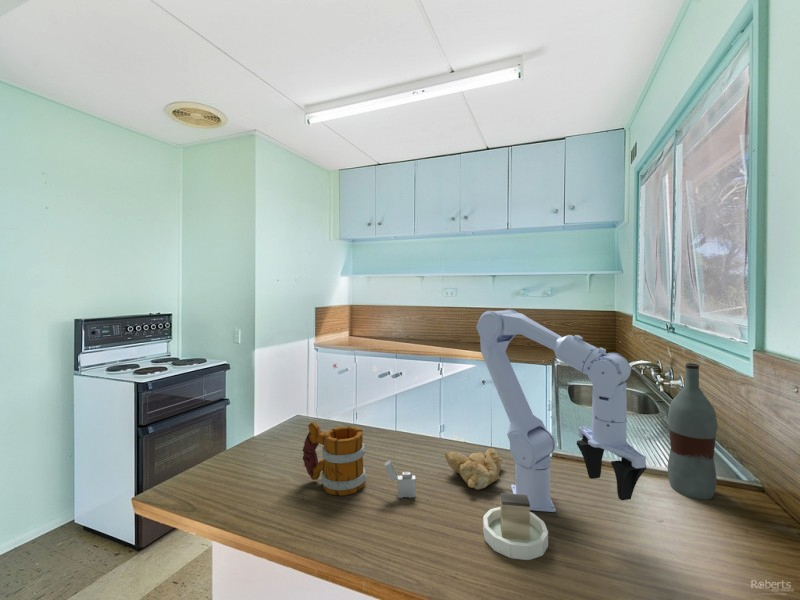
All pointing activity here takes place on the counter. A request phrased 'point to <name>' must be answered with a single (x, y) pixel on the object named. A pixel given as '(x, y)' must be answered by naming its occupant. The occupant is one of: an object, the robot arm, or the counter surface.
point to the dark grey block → (515, 516)
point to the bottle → (692, 440)
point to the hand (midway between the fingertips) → (608, 487)
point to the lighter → (402, 481)
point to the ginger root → (476, 467)
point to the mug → (336, 459)
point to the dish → (513, 546)
